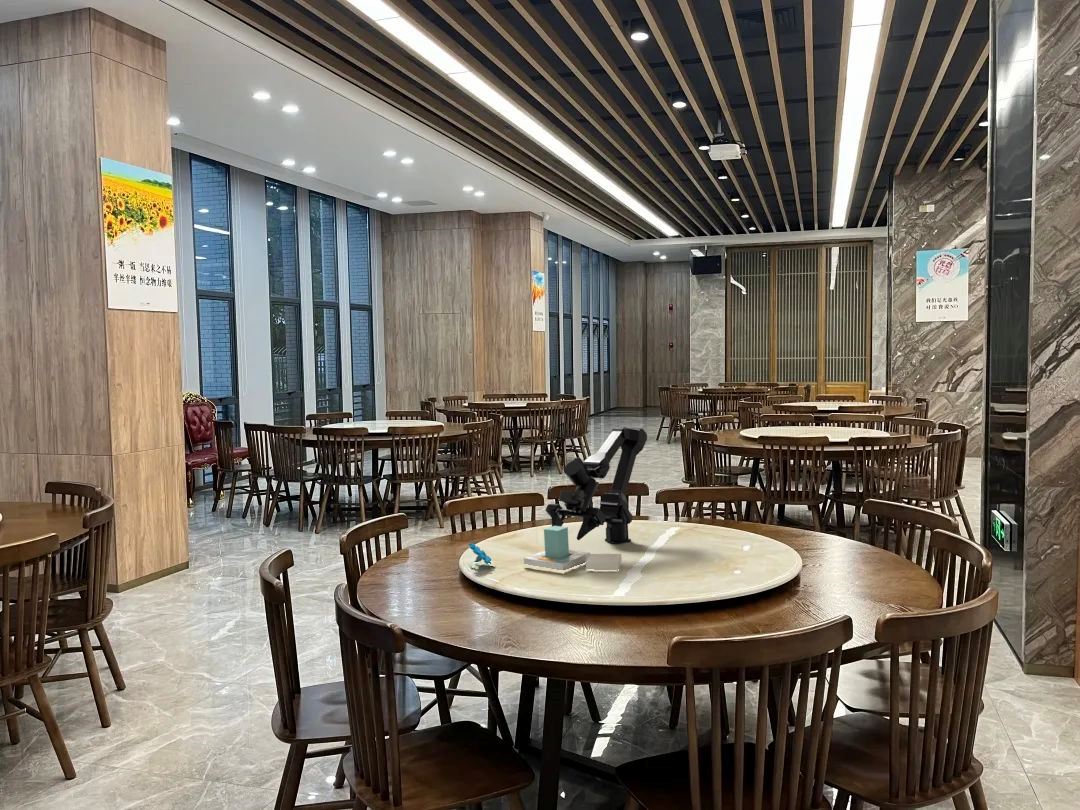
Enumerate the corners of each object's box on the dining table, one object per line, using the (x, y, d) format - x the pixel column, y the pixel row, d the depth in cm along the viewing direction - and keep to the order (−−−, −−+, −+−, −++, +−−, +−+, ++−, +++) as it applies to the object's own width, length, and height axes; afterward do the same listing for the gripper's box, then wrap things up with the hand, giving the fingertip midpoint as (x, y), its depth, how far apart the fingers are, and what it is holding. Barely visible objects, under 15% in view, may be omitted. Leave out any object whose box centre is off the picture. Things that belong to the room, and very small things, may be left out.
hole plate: (552, 557, 270) (551, 547, 270) (590, 562, 261) (590, 551, 261) (524, 568, 259) (523, 557, 258) (563, 574, 250) (562, 562, 250)
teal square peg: (555, 562, 263) (553, 525, 263) (569, 564, 260) (567, 527, 260) (545, 566, 259) (543, 529, 259) (559, 568, 256) (557, 530, 256)
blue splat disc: (495, 566, 256) (470, 542, 257) (481, 581, 256) (456, 557, 257) (498, 561, 267) (474, 539, 268) (485, 576, 267) (461, 553, 268)
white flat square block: (591, 563, 260) (590, 553, 260) (621, 563, 258) (621, 553, 258) (586, 572, 251) (585, 561, 251) (618, 572, 249) (617, 561, 249)
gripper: (547, 477, 271) (527, 520, 263) (598, 481, 260) (579, 525, 252) (563, 498, 278) (544, 540, 270) (613, 502, 267) (595, 546, 259)
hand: (564, 538), depth 263 cm, fingers open, 9 cm apart
